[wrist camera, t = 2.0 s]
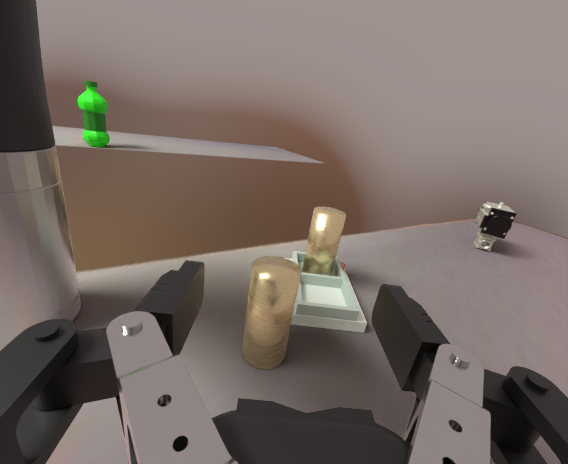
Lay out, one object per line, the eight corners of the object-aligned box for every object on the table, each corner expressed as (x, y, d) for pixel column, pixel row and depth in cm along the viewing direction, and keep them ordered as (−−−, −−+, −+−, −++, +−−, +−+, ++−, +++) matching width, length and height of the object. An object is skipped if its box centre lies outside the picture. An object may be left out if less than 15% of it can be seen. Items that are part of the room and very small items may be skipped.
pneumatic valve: (488, 243, 74) (508, 200, 69) (496, 258, 64) (520, 210, 59) (464, 237, 76) (482, 195, 71) (469, 251, 66) (490, 203, 61)
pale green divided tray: (282, 323, 33) (286, 302, 32) (282, 265, 46) (285, 249, 45) (363, 332, 33) (370, 312, 32) (341, 273, 46) (345, 257, 45)
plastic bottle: (78, 143, 118) (70, 78, 109) (105, 144, 126) (100, 83, 117) (87, 147, 113) (79, 79, 103) (115, 148, 121) (110, 84, 111)
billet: (238, 367, 26) (249, 278, 23) (244, 333, 30) (254, 253, 27) (285, 371, 27) (303, 284, 23) (284, 337, 31) (299, 259, 27)
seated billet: (302, 279, 40) (315, 214, 36) (300, 264, 44) (312, 205, 40) (333, 283, 40) (349, 219, 36) (328, 267, 44) (342, 209, 40)
